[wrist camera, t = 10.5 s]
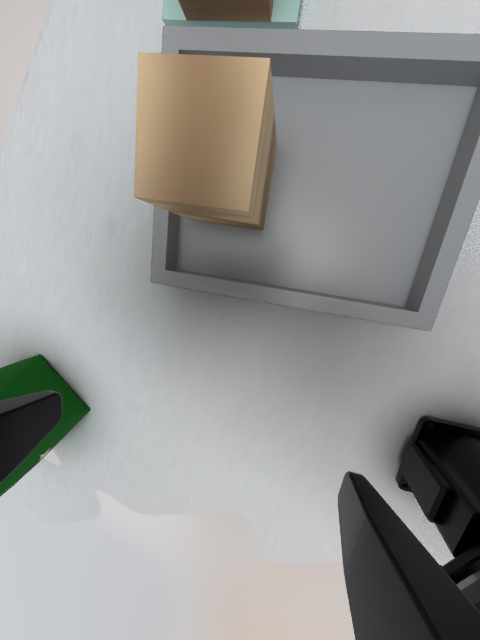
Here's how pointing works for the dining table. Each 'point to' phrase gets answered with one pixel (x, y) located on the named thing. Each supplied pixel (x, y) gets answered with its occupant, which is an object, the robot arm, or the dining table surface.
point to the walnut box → (227, 10)
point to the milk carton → (30, 380)
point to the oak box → (206, 136)
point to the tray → (345, 175)
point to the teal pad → (282, 18)
